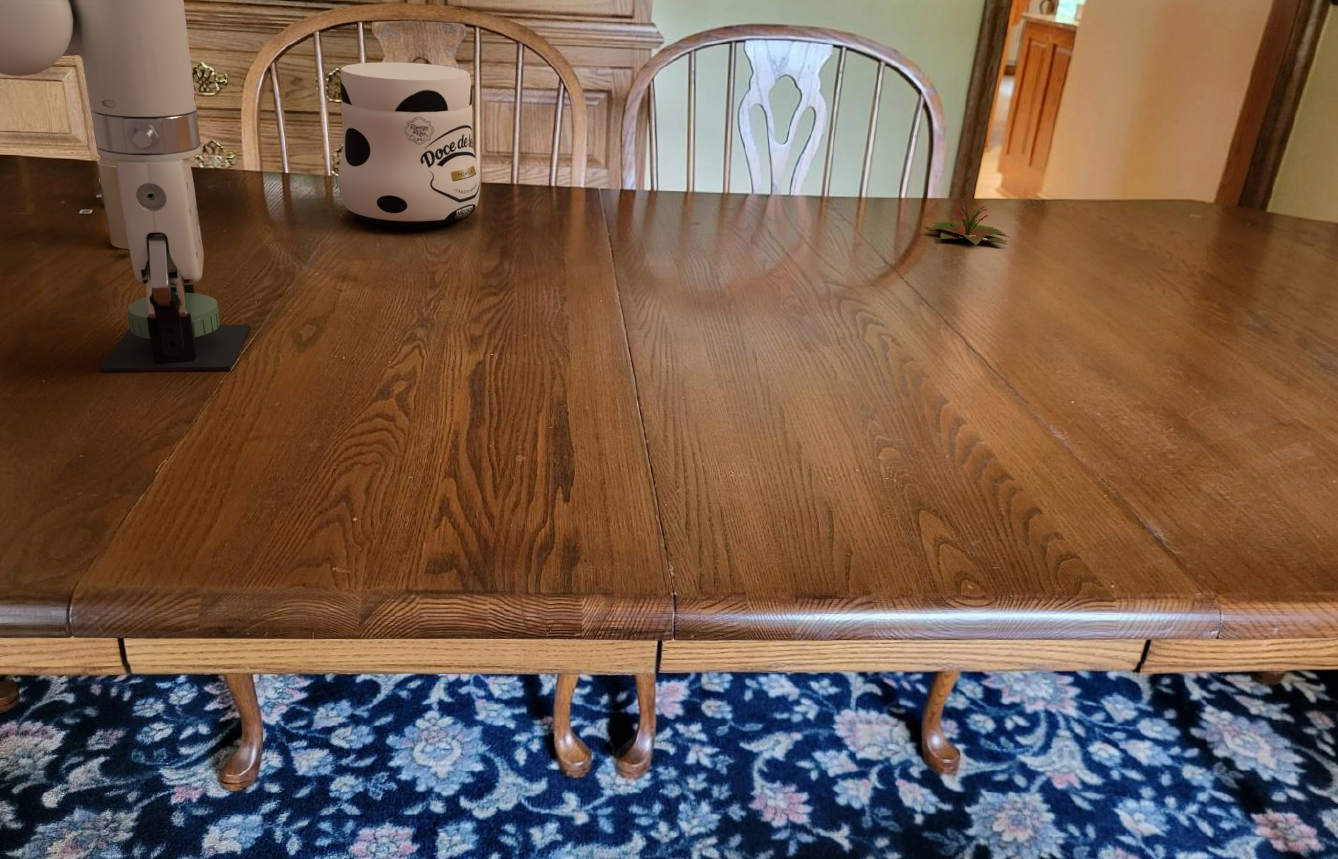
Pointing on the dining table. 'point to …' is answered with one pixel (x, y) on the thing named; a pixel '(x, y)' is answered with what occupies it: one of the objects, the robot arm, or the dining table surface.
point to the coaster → (210, 356)
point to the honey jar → (112, 202)
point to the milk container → (407, 144)
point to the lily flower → (968, 228)
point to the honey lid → (197, 305)
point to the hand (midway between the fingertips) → (177, 342)
